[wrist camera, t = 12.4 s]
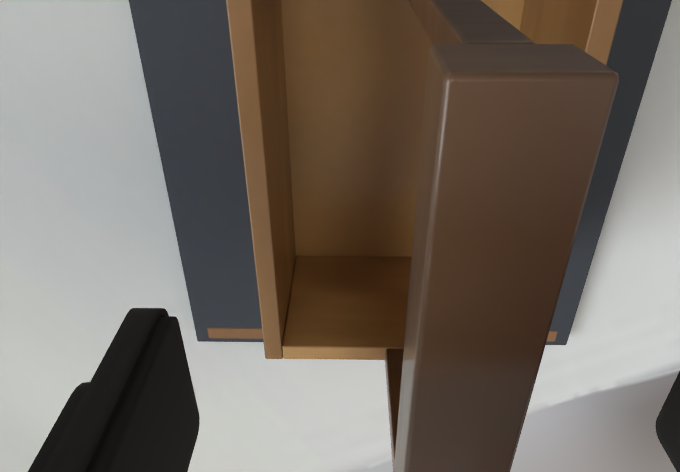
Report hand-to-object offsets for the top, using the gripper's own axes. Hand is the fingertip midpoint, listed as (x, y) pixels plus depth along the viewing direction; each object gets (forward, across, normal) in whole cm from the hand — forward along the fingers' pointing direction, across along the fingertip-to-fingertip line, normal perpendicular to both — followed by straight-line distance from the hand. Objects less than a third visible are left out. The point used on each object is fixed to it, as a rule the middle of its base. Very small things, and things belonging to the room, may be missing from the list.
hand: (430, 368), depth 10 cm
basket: (+12, 0, 0) cm, 12 cm away
